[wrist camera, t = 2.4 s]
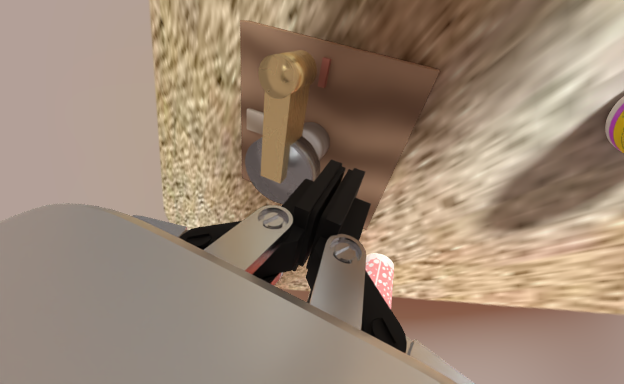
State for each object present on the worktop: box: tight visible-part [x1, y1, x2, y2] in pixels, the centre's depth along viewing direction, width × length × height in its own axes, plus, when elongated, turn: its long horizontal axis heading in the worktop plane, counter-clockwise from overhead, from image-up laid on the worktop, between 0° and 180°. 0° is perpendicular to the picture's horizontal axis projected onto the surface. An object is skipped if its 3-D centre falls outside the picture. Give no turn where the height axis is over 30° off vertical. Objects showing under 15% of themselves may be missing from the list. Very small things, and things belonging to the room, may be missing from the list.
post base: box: [240, 20, 440, 230], centre depth 27 cm, size 20×20×7 cm
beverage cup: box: [365, 253, 394, 309], centre depth 32 cm, size 6×6×14 cm
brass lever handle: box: [245, 50, 320, 204], centre depth 20 cm, size 13×7×4 cm, turn 169°
